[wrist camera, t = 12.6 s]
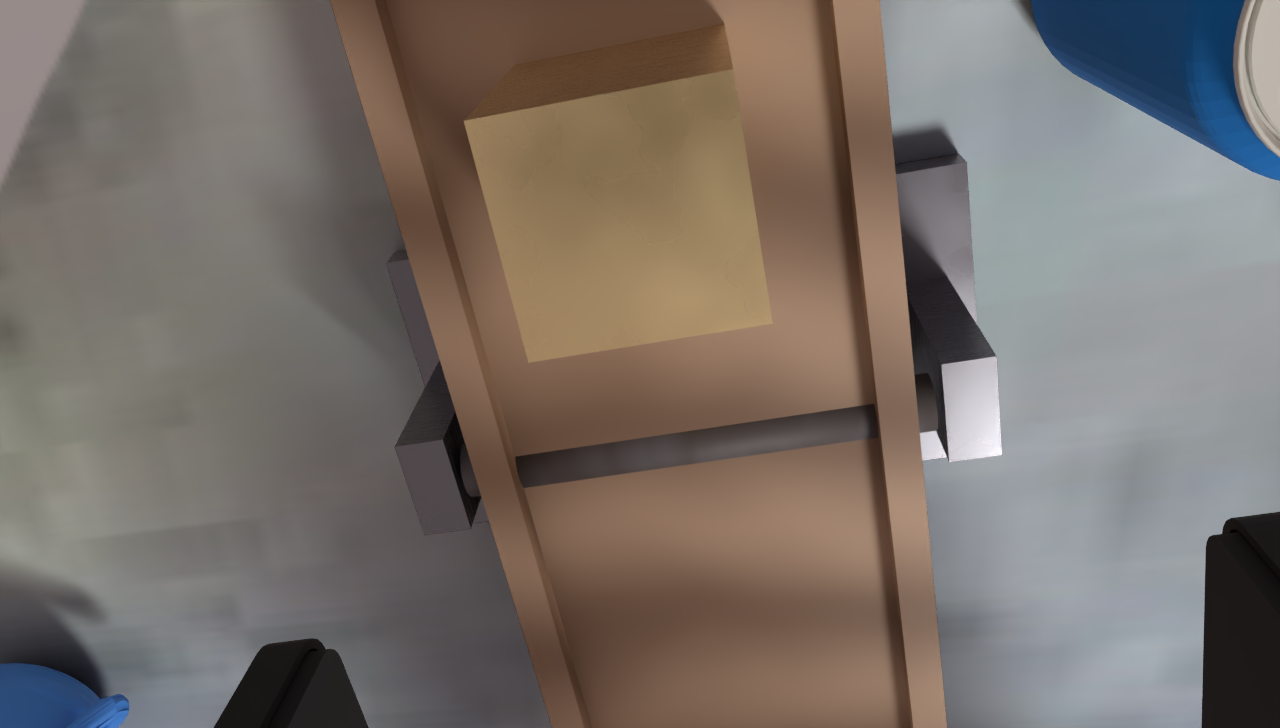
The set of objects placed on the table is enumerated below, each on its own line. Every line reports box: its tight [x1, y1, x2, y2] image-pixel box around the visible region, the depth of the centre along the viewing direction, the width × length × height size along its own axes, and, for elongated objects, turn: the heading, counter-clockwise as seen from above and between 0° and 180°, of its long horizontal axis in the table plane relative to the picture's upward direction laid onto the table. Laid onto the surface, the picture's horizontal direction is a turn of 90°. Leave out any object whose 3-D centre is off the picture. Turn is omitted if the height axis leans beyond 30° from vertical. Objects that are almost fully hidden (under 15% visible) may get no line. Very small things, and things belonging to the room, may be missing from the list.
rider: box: [464, 24, 773, 363], centre depth 23 cm, size 5×5×6 cm
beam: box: [330, 0, 947, 728], centre depth 29 cm, size 34×13×3 cm, turn 11°
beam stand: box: [386, 154, 1002, 535], centre depth 32 cm, size 10×18×7 cm, turn 101°
